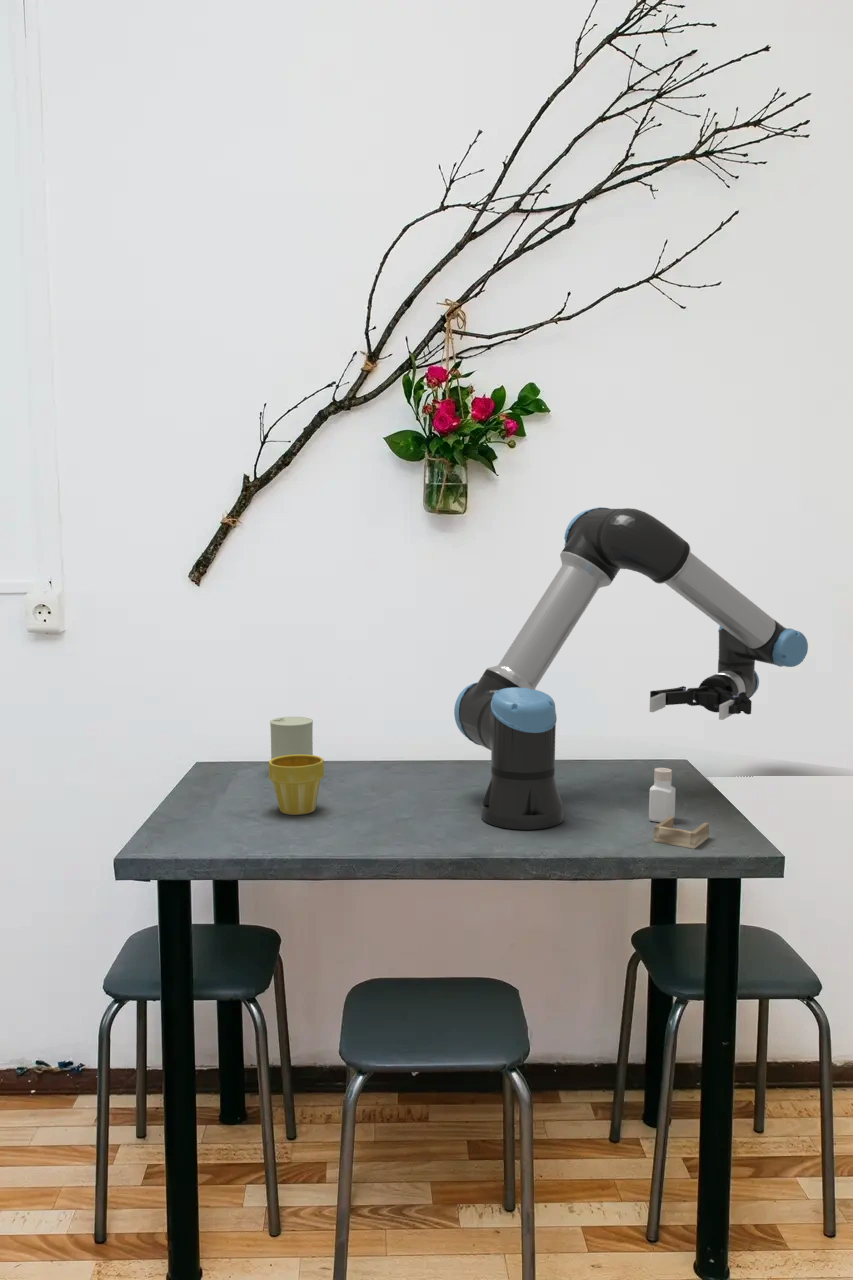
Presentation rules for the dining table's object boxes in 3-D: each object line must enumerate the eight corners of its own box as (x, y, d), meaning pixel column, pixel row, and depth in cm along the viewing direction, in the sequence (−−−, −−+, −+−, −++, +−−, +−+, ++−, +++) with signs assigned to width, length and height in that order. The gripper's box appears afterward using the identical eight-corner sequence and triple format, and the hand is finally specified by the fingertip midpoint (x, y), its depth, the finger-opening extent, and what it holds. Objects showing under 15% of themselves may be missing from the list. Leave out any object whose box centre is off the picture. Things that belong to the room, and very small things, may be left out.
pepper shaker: (675, 819, 196) (677, 768, 195) (669, 824, 193) (670, 773, 192) (654, 816, 198) (655, 766, 197) (647, 821, 195) (649, 770, 194)
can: (277, 767, 235) (276, 713, 233) (318, 768, 233) (317, 715, 232) (265, 777, 225) (264, 722, 224) (307, 779, 224) (307, 723, 223)
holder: (653, 841, 183) (654, 826, 183) (668, 830, 189) (669, 816, 189) (694, 848, 179) (695, 833, 179) (708, 837, 185) (709, 823, 185)
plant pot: (263, 806, 204) (262, 756, 203) (315, 800, 208) (315, 751, 207) (277, 820, 195) (276, 768, 194) (331, 814, 199) (330, 763, 198)
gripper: (782, 716, 213) (750, 735, 196) (662, 703, 227) (623, 721, 209) (783, 679, 212) (752, 695, 195) (663, 668, 226) (624, 683, 208)
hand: (685, 708), depth 202 cm, fingers open, 13 cm apart
